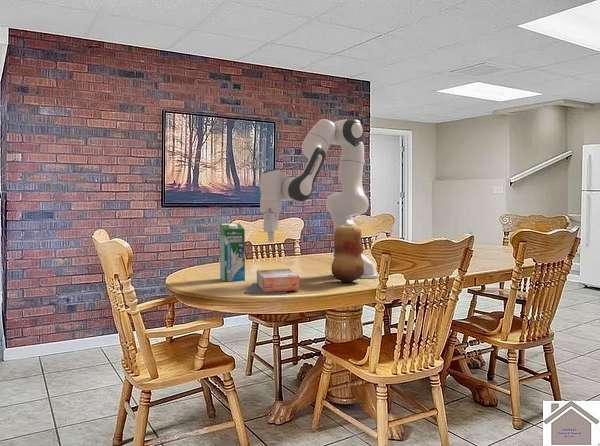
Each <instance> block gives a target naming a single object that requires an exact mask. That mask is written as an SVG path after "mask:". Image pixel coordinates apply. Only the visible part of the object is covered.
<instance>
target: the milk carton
mask: <svg viewBox="0 0 600 446" xmlns="http://www.w3.org/2000/svg"><path fill="white" fill-rule="evenodd" d="M245 233H246V231H245V228H244V227H243V226H242V224H240V223H239V222H237V223H236V222H235V223H226V222H225V223H219V260H220V261H219V262H220V263H219V264H220V265H219V267H220V268H219V272H220V273H219V274H220V275H219V277H220V280H221V281H223V282H240V281H242V280H243V281H246V248H245V247H246V246H245V245H246V243H245V242H246V241H245V240H246V238H245V235H246V234H245ZM243 281H242V282H243Z"/></svg>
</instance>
